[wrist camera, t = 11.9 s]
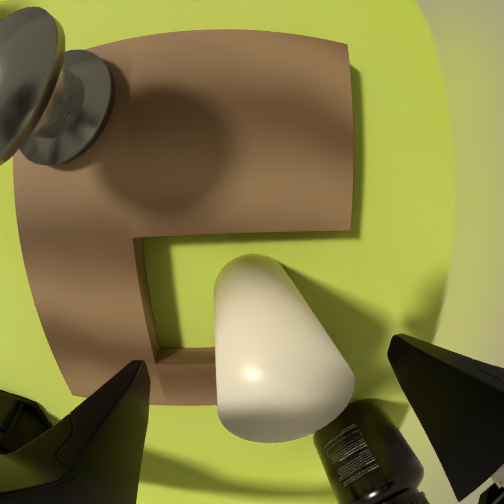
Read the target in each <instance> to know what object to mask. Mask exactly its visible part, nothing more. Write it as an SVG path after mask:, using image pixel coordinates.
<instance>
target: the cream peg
mask: <svg viewBox="0 0 504 504" xmlns="http://www.w3.org/2000/svg"><path fill="white" fill-rule="evenodd" d="M214 321H215V359H216V384H217V405H218V415H219V419H220V421H221V423H222V424H223V425H224V427H225V428H226V429H227V430H228V431H230V432H231V433H233V434H234V435H236V436H238V437H240V438H243V439H246V440H250V441H254V442H262V443H275V442H284V441H290V440H294V439H298V438H301V437H304V436H307V435H309V434H311V433H314V432H316V431H317V430H319V429H321V428H323V427H324V426H326V425H327V424H329V423H330V422H331V421H333V420H334V419H335V418H336V417H337V416H338V415H339V414H340V413H341V412H342V411H343V410H344V409H345V408H346V406H347V405H348V403H349V401H350V400H351V398H352V395H353V392H354V388H355V378H354V374H353V372H352V370H351V368H350V367H349V365H348V364H347V362H346V361H345V359H344V358H343V356H342V355H341V353H340V352H339V350H338V349H337V347H336V346H335V344H334V343H333V341H332V340H331V338H330V337H329V335H328V333H327V332H326V330H325V329H324V327H323V326H322V325H321V323H320V322H319V320H318V319H317V317H316V316H315V314H314V313H313V311H312V310H311V308H310V307H309V305H308V304H307V302H306V301H305V299H304V298H303V296H302V295H301V293H300V292H299V290H298V289H297V287H296V286H295V284H294V283H293V282H292V280H291V279H290V277H289V276H288V274H287V273H286V271H285V270H284V268H283V267H282V266H281V265H280V264H279V263H278V262H277V261H275V260H274V259H272V258H270V257H268V256H265V255H260V254H248V255H243V256H240V257H237V258H235V259H233V260H232V261H230V262H229V263H227V264H226V265H225V266H224V267H223V268H222V270H221V271H220V272H219V274H218V276H217V278H216V281H215V286H214Z"/></svg>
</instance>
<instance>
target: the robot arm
mask: <svg viewBox="0 0 504 504" xmlns="http://www.w3.org/2000/svg"><path fill="white" fill-rule="evenodd" d="M387 356H388V359H389V361H390V364H391V366H392V368H393V370H394V373H395V375H396V377H397V379H398V382H399V384H400V386H401V388H402V390H403V392H404V394H405V395H406V397H407V399H408V401H409V403H410V404H411V406H412V408H413V410H414V412H415V413H416V415H417V417H418V419H419V421H420V423H421V425H422V427H423V428H424V430H425V432H426V434H427V436H428V438H429V440H430V442H431V444H432V446H433V448H434V450H435V452H436V454H437V456H438V458H439V460H440V462H441V464H442V467H443V469H444V471H445V473H446V476H447V478H448V480H449V482H450V484H451V486H452V489H453V491H454V493H455V496H456V498H457V500H458V502H460V501H461V500H463V499H464V498H465V497H467V496H468V495H469V494H470V493H472V492H473V491H474V490H476V489H477V488H478V487H479V486H480V485H481V484H482V483H484V482H485V481H486V480H487V479H488V478H489V477H491V478H492V480H493V481H494V483H493V484H492V485H491V486H490V487H489V488H487V489H486V490H485V491H484V492H483V493H482V494H481V495H480V498H479V502H478V504H504V368H501V367H497V366H493V365H490V364H487V363H483V362H481V361H478V360H475V359H474V360H473V359H472V358H469V357H466V356H463V355H461V354H458V353H455V352H452V351H449V350H446V349H444V348H441V347H438V346H435V345H433V344H430V343H427V342H424V341H422V340H419V339H416V338H414V337H411V336H408V335H405V334H402V333H401V334H397V335H394V336H393V337H392V339H391V342H390V346H389V349H388V352H387ZM150 386H151V380H150V376H149V372H148V369H147V365H146V363H145V361H144V360H132V361H131V362H129V363H128V364H127V365H126V366H125V367H123V368H122V369H121V370H120V371H119V372H118V373H116V374H115V375H114V376H113V377H112V378H111V379H109V380H108V381H107V382H106V383H105V384H103V385H102V386H101V387H100V388H99V389H98V390H96V391H95V392H94V393H93V394H92V395H90V396H89V397H88V398H87V399H86V400H85V401H83V402H82V403H81V404H80V405H79V406H77V407H76V408H75V409H74V410H73V411H71V412H70V414H68V415H67V416H65V417H64V418H63V419H62V420H61V421H59V422H58V423H57V424H56V425H54V426H53V427H52V426H51V425H50V423H49V422H48V420H47V419H46V418H45V416H44V415H43V413H42V412H41V410H40V409H39V407H38V406H37V404H36V403H34V402H32V401H29V400H26V399H23V398H20V397H17V396H14V395H11V394H9V393H6V392H3V391H0V504H136V499H137V491H138V483H139V475H140V468H141V461H142V455H143V448H144V442H145V436H146V431H147V425H148V416H149V399H150Z"/></svg>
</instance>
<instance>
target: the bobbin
mask: <svg viewBox="0 0 504 504" xmlns="http://www.w3.org/2000/svg"><path fill="white" fill-rule="evenodd" d="M114 99H115V83H114V78H113V75H112V72H111V70H110V69H109V67H108V66H107V65H106V64H105V63H104V62H103V61H102V60H101V59H100V58H99V57H98V56H97V55H95V54H94V53H92V52H89V51H86V50H70V51H66V52H65V34H64V31H63V28H62V26H61V24H60V23H59V22H58V21H57V20H56V19H55V18H54V17H53V16H52V15H50V14H49V13H48V12H47V11H46V10H44V9H42V8H40V7H27V8H24V9H21V10H18V11H16V12H14V13H12V14H10V15H9V16H7V17H6V18H4V19H3V20H2V21H0V165H2V164H3V163H4V162H6V161H7V160H8V159H10V158H11V157H12V156H13V155H14V154H15V153H16V152H17V151H18V150H19V149H20V151H21V152H22V154H23V155H24V156H25V157H26V158H27V159H28V160H30V161H31V162H33V163H35V164H39V165H60V164H64V163H68V162H70V161H72V160H74V159H76V158H78V157H79V156H81V155H82V154H83V153H85V152H86V151H87V150H88V149H89V148H90V147H91V146H92V145H93V144H94V143H95V141H96V140H97V139H98V137H99V136H100V135H101V133H102V132H103V130H104V128H105V126H106V124H107V122H108V120H109V118H110V115H111V112H112V109H113V105H114Z"/></svg>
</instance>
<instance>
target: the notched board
mask: <svg viewBox="0 0 504 504" xmlns="http://www.w3.org/2000/svg"><path fill="white" fill-rule="evenodd" d="M86 51H89V52H92V53H94V54H95V55H97V56H98V57H99V58H100V59H101V60H102V61H103V62H104V63H105V64H106V65H107V66H108V67H109V69H110V70H111V72H112V75H113V78H114V83H115V99H114V105H113V109H112V112H111V115H110V118H109V120H108V122H107V124H106V126H105V128H104V130H103V132H102V133H101V135H100V136H99V137H98V139H97V140H96V141H95V143H94V144H93V145H92V146H91V147H90V148H89V149H88V150H87V151H86V152H85V153H83V154H82V155H81V156H79V157H78V158H76V159H74V160H72V161H70V162H68V163H64V164H60V165H39V164H35V163H33V162H31V161H30V160H28V159H27V158H26V157H25V156H24V155H23V154H22V152H21V151H20V149H19V150H18V151H17V152H16V153H15V154H14V155H13V175H14V195H15V207H16V216H17V224H18V231H19V238H20V244H21V249H22V254H23V259H24V264H25V269H26V273H27V277H28V281H29V285H30V289H31V292H32V296H33V299H34V303H35V306H36V309H37V312H38V315H39V318H40V321H41V324H42V327H43V330H44V332H45V335H46V338H47V340H48V343H49V345H50V348H51V350H52V353H53V355H54V357H55V360H56V362H57V364H58V366H59V369H60V371H61V373H62V375H63V377H64V379H65V381H66V383H67V385H68V387H69V389H70V391H71V393H72V395H74V396H80V397H86V398H88V397H89V396H90V395H92V394H93V393H94V392H95V391H96V390H98V389H99V388H100V387H101V386H102V385H103V384H105V383H106V382H107V381H108V380H109V379H111V378H112V377H113V376H114V375H115V374H116V373H118V372H119V371H120V370H121V369H122V368H123V367H125V366H126V365H127V364H128V363H129V362H131V361H132V360H144V361H145V363H146V365H147V369H148V372H149V376H150V380H151V386H150V399H149V404H150V405H179V406H196V405H217V384H216V359H215V347H214V348H159V344H158V339H157V334H156V329H155V324H154V319H153V314H152V308H151V302H150V296H149V290H148V283H147V277H146V269H145V262H144V253H143V245H142V237H157V236H178V235H200V234H225V233H255V232H290V231H342V230H350V229H351V214H352V195H353V155H354V146H353V107H352V89H351V76H350V65H349V55H348V46H347V44H343V43H339V42H335V41H330V40H325V39H320V38H315V37H309V36H303V35H296V34H288V33H280V32H270V31H256V30H193V31H180V32H170V33H162V34H154V35H148V36H142V37H136V38H131V39H126V40H121V41H116V42H112V43H108V44H104V45H100V46H96V47H93V48H89V49H86Z"/></svg>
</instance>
